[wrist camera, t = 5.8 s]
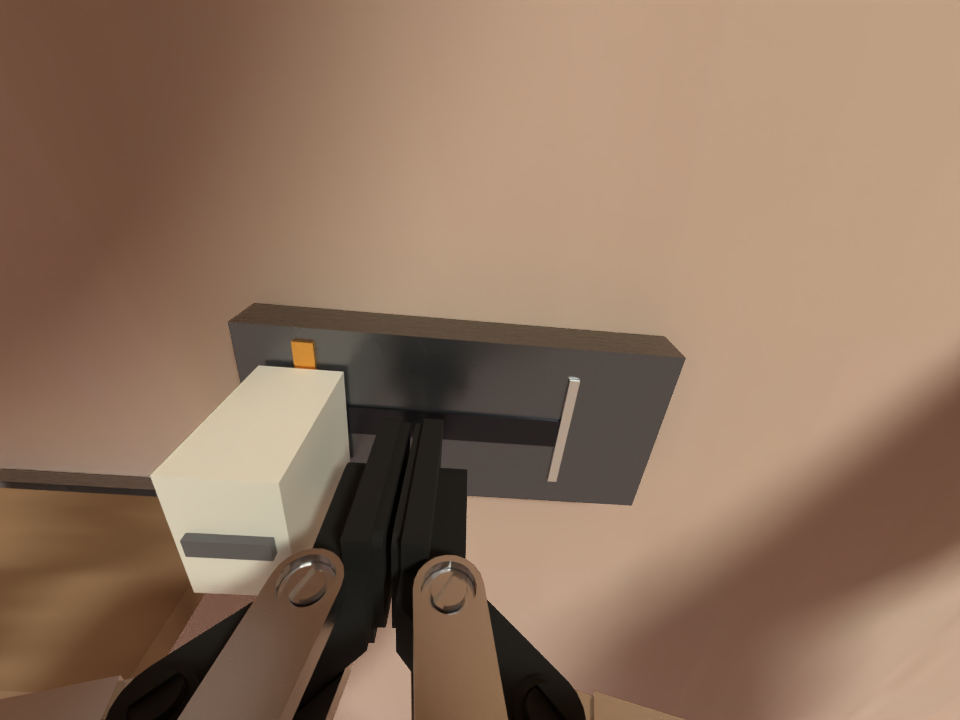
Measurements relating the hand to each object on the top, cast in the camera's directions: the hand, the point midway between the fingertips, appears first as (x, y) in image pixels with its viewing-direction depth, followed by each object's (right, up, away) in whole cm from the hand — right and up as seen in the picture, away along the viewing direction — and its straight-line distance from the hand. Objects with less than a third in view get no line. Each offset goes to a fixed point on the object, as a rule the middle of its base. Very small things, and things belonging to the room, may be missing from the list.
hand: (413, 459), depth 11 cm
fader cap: (-3, +1, +1) cm, 4 cm away
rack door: (-12, -3, +4) cm, 13 cm away
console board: (+1, +1, +3) cm, 3 cm away
